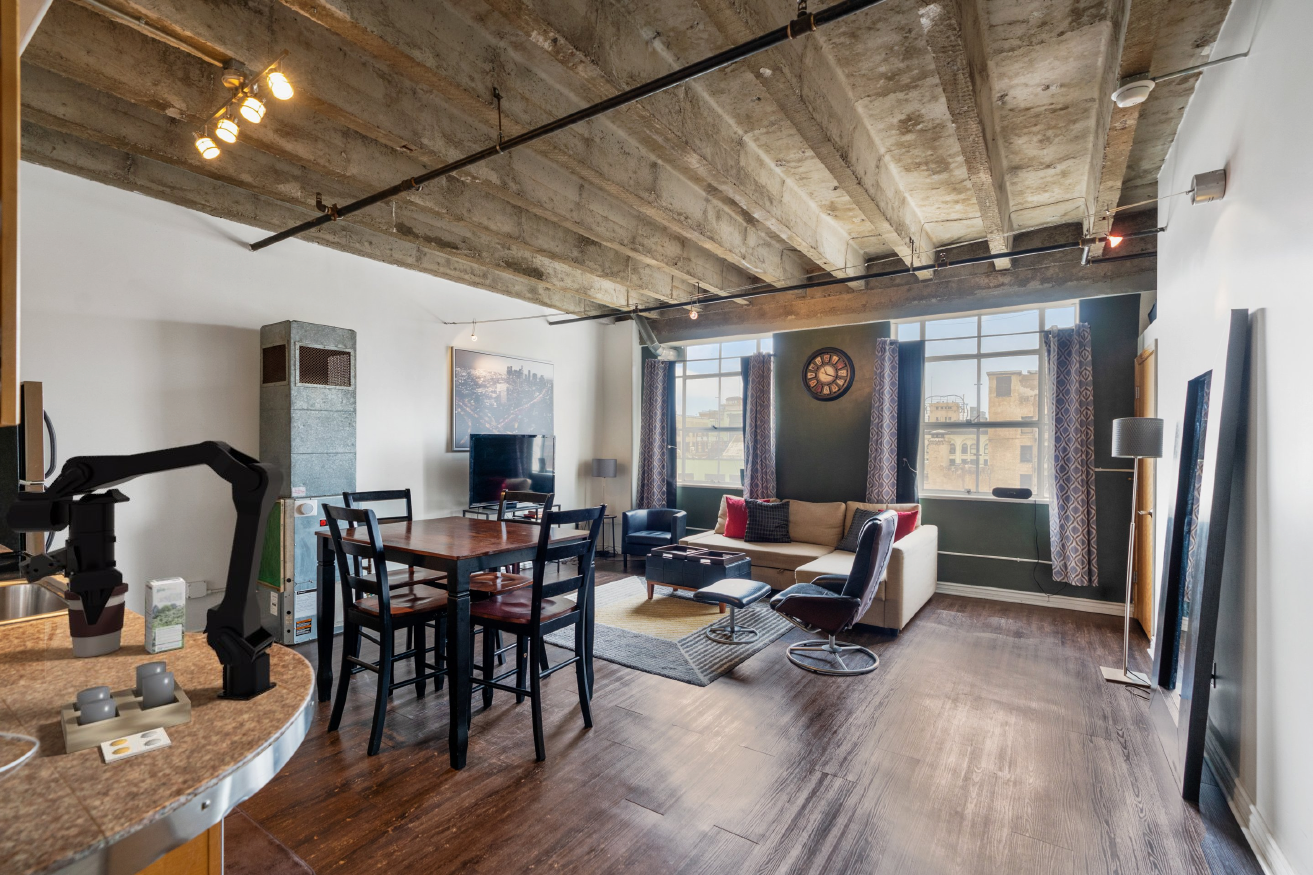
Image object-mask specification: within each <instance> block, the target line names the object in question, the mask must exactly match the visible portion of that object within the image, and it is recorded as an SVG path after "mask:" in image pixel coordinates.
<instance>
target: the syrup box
mask: <svg viewBox="0 0 1313 875" xmlns="http://www.w3.org/2000/svg"><path fill="white" fill-rule="evenodd" d="M144 582H145V583H144V584H145V586H144V649H145V651H146V652H148V653H150V654H152V655H153V654H160V653H164V652H169V651H170V652H171V651H173V650H178V649H183V648H185V646H186V645H185V644H186V642H185V641H186V580H184V578H182V577H180V576H174V577H165V578H159V579H152V580H146V581H144ZM181 634H185V635H181Z"/></svg>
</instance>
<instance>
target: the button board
mask: <svg viewBox="0 0 1313 875" xmlns="http://www.w3.org/2000/svg"><path fill="white" fill-rule="evenodd" d="M110 698H112V699H115V718H111V719H107V720H103V721H99V722H95V723H91V724H86V725H82V726H81V711H77V699H76V700H71V701H65V702H61V703H60V716H61V717H60V724H61V728H62V735H63V740H64V745H65V746H64V747H65V750H66V752H65V753H66V754H71V753H75V752H78V751H79V752H80V751H82V750H86V749H90V748H95V747H98V746H101V743H104V742H108V741H111V740H115V739H119V738H123V737H127V736H131V735H134V734H138V733H142V732H146V731H150V730H154V729H157V728H161V727H163V729H166V728H167V729H168V728H170V727H175V726H179V725H182V724H186V723H189V722H192V702H191V700H190V699H189V697H188V696H187V694H186V693H185V691H184V690H183V688H182V687H181V686H180V684H179V683H178V681H177V680H176V679H175V678H174V701H173V702H171V703H169V704H167V705H164V706H160V707H155V708H144V707H143V695H137V694H136V686H134V687H130V688H125V689H121V690H116V691H112V692H111V691H110Z"/></svg>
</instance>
